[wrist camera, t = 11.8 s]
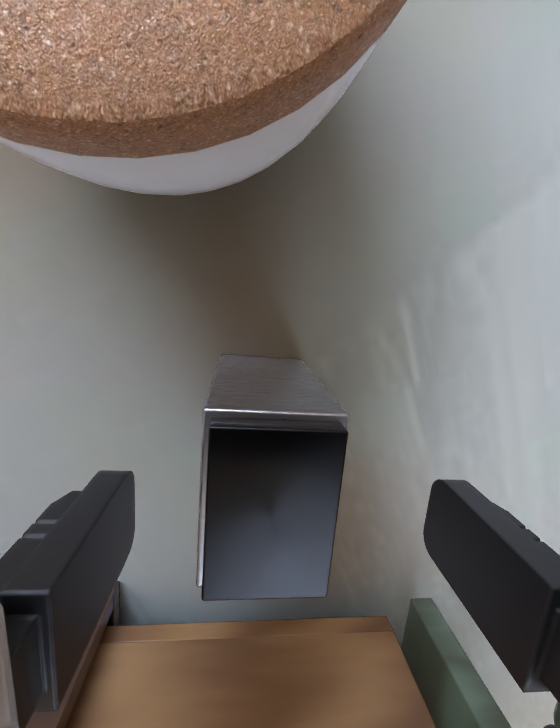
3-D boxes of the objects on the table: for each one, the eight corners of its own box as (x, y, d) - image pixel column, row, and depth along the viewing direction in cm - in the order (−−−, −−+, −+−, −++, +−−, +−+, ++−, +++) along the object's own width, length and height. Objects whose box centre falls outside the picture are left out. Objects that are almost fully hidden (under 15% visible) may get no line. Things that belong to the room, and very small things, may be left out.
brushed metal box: (301, 359, 15) (358, 423, 8) (291, 461, 16) (334, 604, 9) (220, 354, 15) (199, 417, 7) (215, 460, 16) (192, 608, 8)
